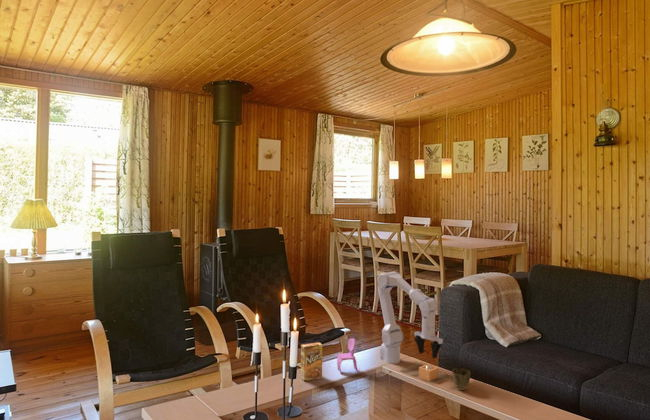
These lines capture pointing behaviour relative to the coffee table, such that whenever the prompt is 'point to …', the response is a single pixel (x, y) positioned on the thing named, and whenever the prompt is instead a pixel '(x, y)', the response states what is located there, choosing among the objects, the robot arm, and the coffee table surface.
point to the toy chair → (348, 355)
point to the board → (414, 372)
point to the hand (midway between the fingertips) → (427, 355)
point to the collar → (428, 373)
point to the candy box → (311, 361)
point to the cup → (461, 378)
